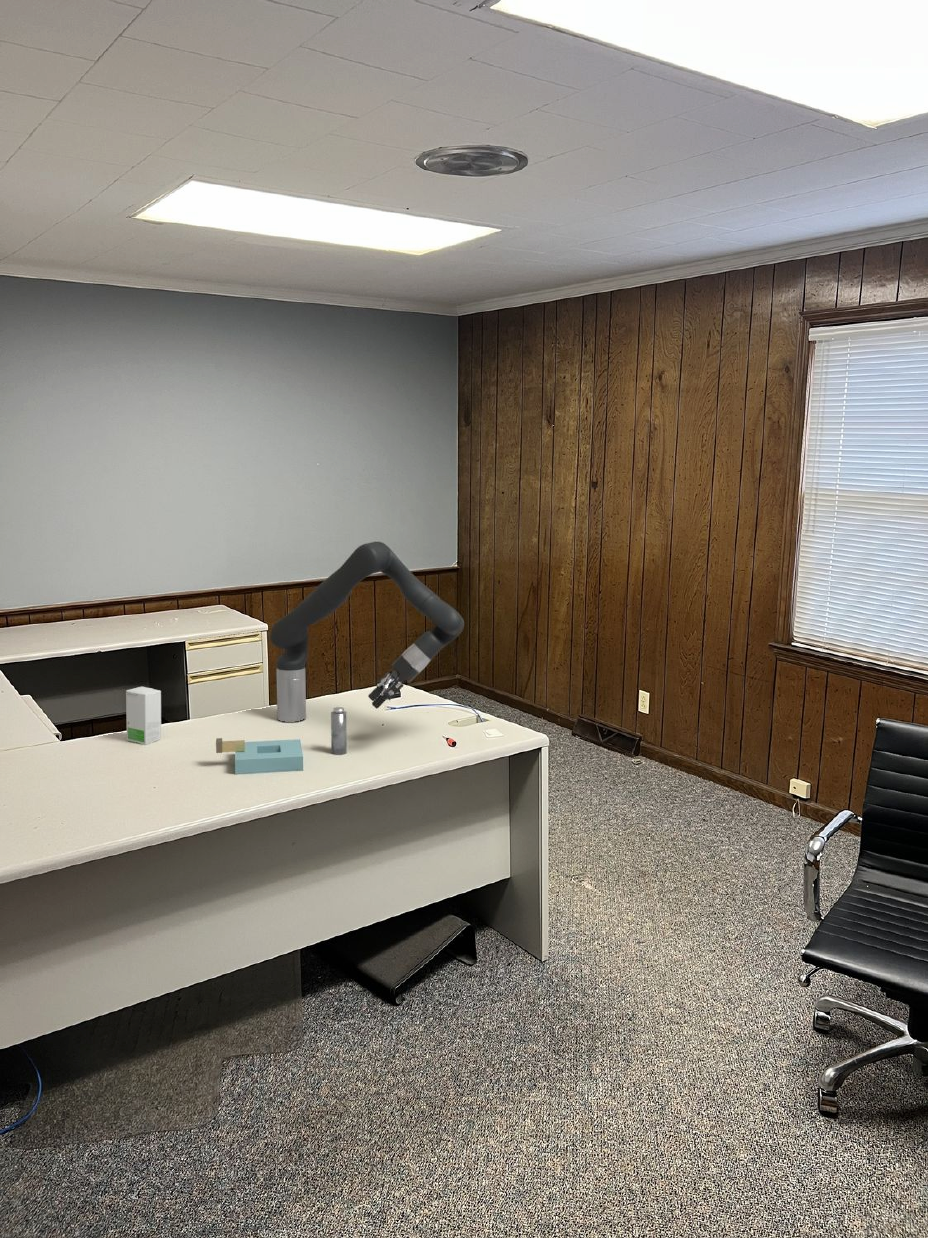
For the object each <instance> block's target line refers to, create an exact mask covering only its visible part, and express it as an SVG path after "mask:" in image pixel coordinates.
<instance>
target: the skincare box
mask: <svg viewBox="0 0 928 1238" xmlns="http://www.w3.org/2000/svg"><path fill="white" fill-rule="evenodd" d="M125 700H126V701H125V705H126V706H125V708H126V709H125V711H126V741H128V742H132V743H136V742H138V743H137V744H139V745H144V746H146V745H149V743H150V744H152V743H151V742H153V743H156V742H158V741H157V740H159V741H161V740H162V691H161V690H159V689H154V688H153V687H152V688H151V687H146V686H137V687H135V688H130V689H127V690H125ZM160 739H161V740H160ZM155 741H156V742H155Z"/></svg>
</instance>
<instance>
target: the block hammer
mask: <svg viewBox="0 0 928 1238" xmlns="http://www.w3.org/2000/svg"><path fill="white" fill-rule="evenodd" d="M245 742H246V741H245V740H244V739H243V740H241V739H240V740H239V739H238V740H225V741H224V740H223V737H220V738H219V737H216V739H215V753H216V754H222V753H234V752H238V751H245Z"/></svg>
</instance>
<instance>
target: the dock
mask: <svg viewBox="0 0 928 1238" xmlns="http://www.w3.org/2000/svg"><path fill="white" fill-rule="evenodd" d="M301 741H302V740H301V739H298V738H297V739H280V740H279V739H278V740H257V741H245V751H238V752H235V754H234V755H235V756H234V770H235V771H234V772H235V775H247V774H263V773H264V774H265V773H281V772H301V771H304V754H303V748H302V742H301Z"/></svg>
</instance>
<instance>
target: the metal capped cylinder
mask: <svg viewBox="0 0 928 1238" xmlns="http://www.w3.org/2000/svg"><path fill="white" fill-rule="evenodd" d="M332 710H333V711H331V712H330V727H331V728H330V730H331V731H330V736H331V737H330V738H331V739H330V743H331V744H330V746H331V747H330V748H331V750H330V751H331V754H332V755H333V756H341V755H346V754H347V753H348V752H347V751H348V750H347V744H348V742H347V741H348V740H347V737H348V735H347V725H348V724H347V712H346V711H345V708H344V707H340V706H337V707H334V708H333V709H332Z"/></svg>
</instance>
